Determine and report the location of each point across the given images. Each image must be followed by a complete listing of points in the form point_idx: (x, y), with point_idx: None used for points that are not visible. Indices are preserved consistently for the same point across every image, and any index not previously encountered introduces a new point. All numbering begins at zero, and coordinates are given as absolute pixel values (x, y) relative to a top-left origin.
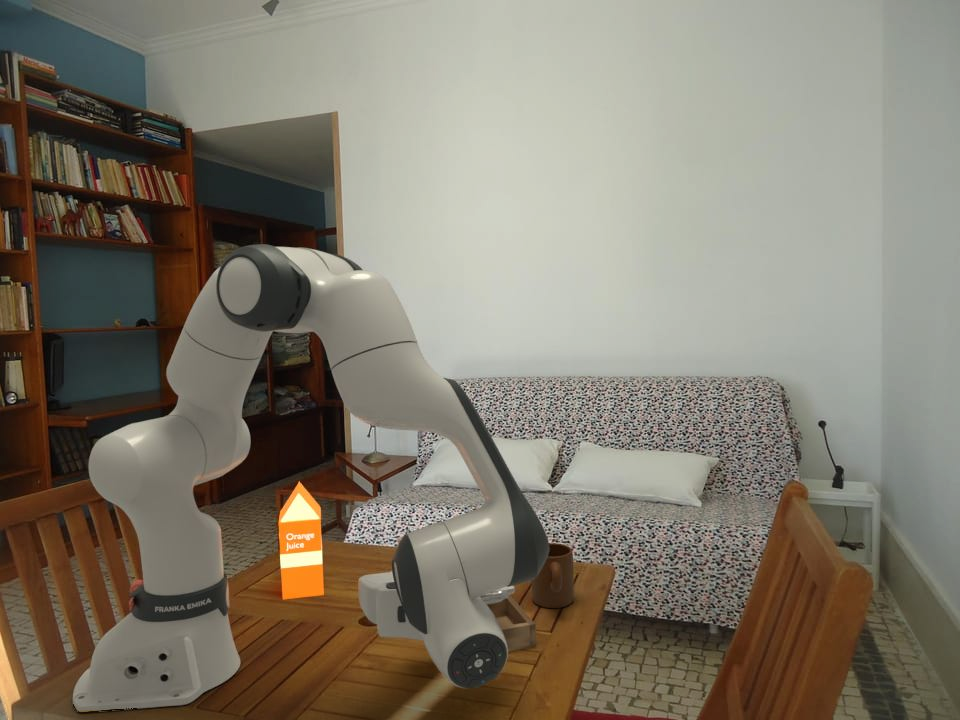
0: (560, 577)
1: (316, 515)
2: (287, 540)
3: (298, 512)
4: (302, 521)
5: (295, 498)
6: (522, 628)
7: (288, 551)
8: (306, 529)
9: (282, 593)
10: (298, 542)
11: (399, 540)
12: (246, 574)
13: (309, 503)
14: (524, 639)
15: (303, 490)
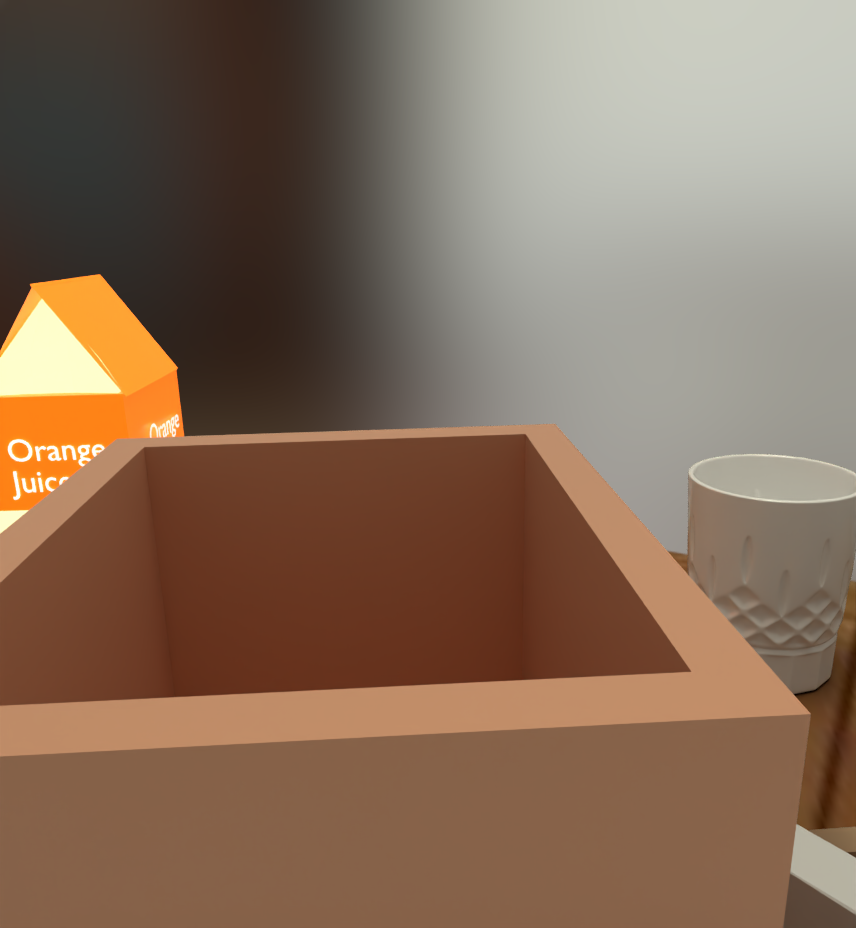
0: None
1: (110, 379)
2: (13, 463)
3: (47, 365)
4: (58, 397)
5: (34, 312)
6: None
7: (22, 502)
8: (76, 428)
9: None
10: (53, 473)
11: (90, 468)
12: None
13: (92, 336)
14: None
15: (98, 299)
